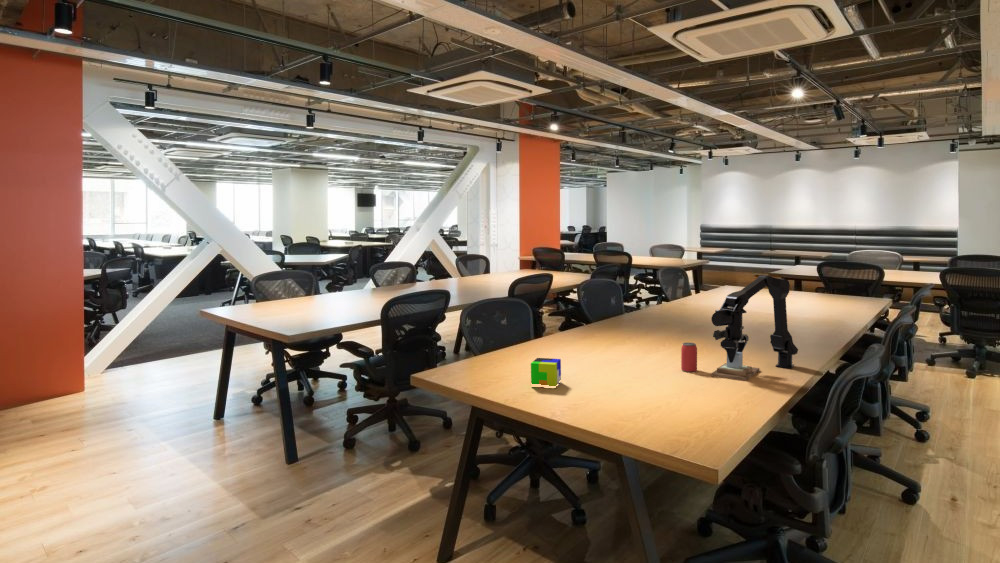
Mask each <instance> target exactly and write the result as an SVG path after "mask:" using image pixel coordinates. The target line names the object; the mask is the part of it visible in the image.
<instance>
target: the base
mask: <svg viewBox="0 0 1000 563" xmlns="http://www.w3.org/2000/svg"><path fill="white" fill-rule="evenodd" d="M759 372H760V367H755V366H751V365H750V366H749V365H744V364H743V366H742V367H741V368H739V369H737V368H729V367H727V362H726V363H723V364H721V365H719V366H718V367H716V370H714V371H713V372H711V373H710V375H711V377H713V378H714V377H715V378H723V379H729V380H730V379H731V380H737V381H743V382H747V381H748V380H749V379H751V378H752V377H753V376H755V375H756V374H758V373H759Z"/></svg>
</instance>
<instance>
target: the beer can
mask: <svg viewBox="0 0 1000 563" xmlns="http://www.w3.org/2000/svg"><path fill="white" fill-rule="evenodd" d="M680 352H681V356H680V358H681V361H680V362H681V364H680V365H681V371H682V372H686V373H695V372H697V371H698V347H697V344H696V343H695V342H683V343H682V345H681V351H680Z"/></svg>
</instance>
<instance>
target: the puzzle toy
mask: <svg viewBox="0 0 1000 563" xmlns="http://www.w3.org/2000/svg"><path fill="white" fill-rule="evenodd" d="M561 361H562V360H561V358H547V357H546V358H545V357H537V358H536V359H534V360H533V361H532V362H531V363H530V384H531V383H532V384H541V385H549V386H556V385H557V384H558V383H559V381H560V380H561V381H562V367H561V366H562V362H561Z"/></svg>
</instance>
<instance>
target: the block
mask: <svg viewBox="0 0 1000 563" xmlns="http://www.w3.org/2000/svg"><path fill="white" fill-rule="evenodd" d="M743 354H744V353H743V352H737V353H736V355H735V358H734V361H733V363H730V362H729V358H728V355H727V354H726V363H727V367H729V368H737V369H739V368H741V367H742V366H743V365H744V364H743V361H744V360H743V358H744V356H743Z"/></svg>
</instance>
